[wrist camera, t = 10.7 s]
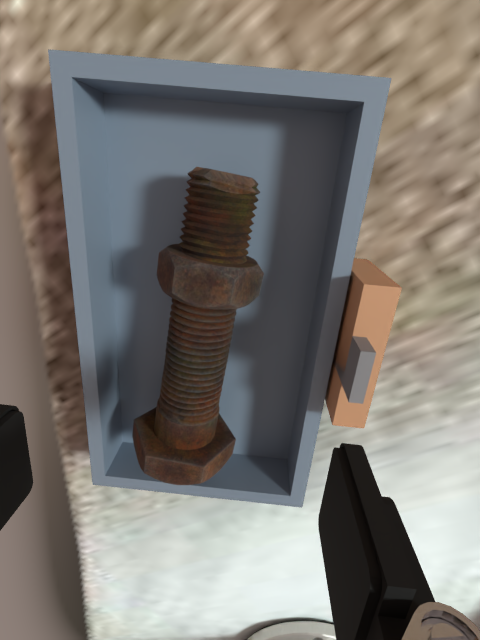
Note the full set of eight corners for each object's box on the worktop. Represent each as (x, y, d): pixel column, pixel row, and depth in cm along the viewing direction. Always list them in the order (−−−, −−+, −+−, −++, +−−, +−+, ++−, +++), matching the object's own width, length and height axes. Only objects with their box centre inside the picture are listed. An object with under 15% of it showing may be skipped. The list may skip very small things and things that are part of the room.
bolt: (246, 177, 19) (203, 413, 24) (150, 157, 16) (126, 425, 22) (313, 189, 14) (242, 479, 19) (193, 164, 12) (149, 502, 17)
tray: (296, 463, 24) (302, 507, 21) (114, 443, 25) (92, 484, 22) (365, 96, 16) (391, 77, 13) (90, 73, 16) (48, 49, 13)
